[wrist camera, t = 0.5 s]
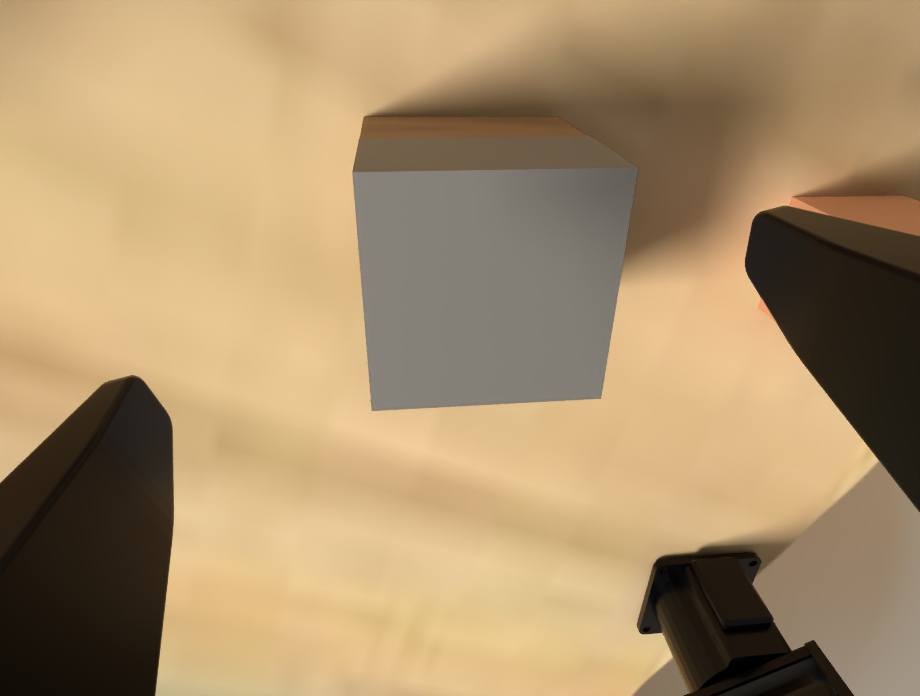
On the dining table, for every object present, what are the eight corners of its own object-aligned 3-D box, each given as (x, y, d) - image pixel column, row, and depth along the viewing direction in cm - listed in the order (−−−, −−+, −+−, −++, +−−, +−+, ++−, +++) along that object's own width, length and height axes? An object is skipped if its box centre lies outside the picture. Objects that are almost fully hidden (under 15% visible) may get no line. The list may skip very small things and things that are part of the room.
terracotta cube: (859, 303, 27) (948, 360, 23) (757, 306, 27) (828, 365, 22) (903, 194, 24) (1012, 236, 20) (790, 196, 24) (879, 239, 20)
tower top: (567, 335, 22) (600, 398, 18) (374, 343, 21) (371, 410, 17) (590, 135, 18) (637, 168, 15) (359, 138, 17) (352, 172, 14)
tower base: (540, 290, 25) (565, 336, 22) (374, 295, 24) (373, 343, 21) (557, 115, 21) (590, 138, 18) (363, 115, 21) (359, 138, 17)
